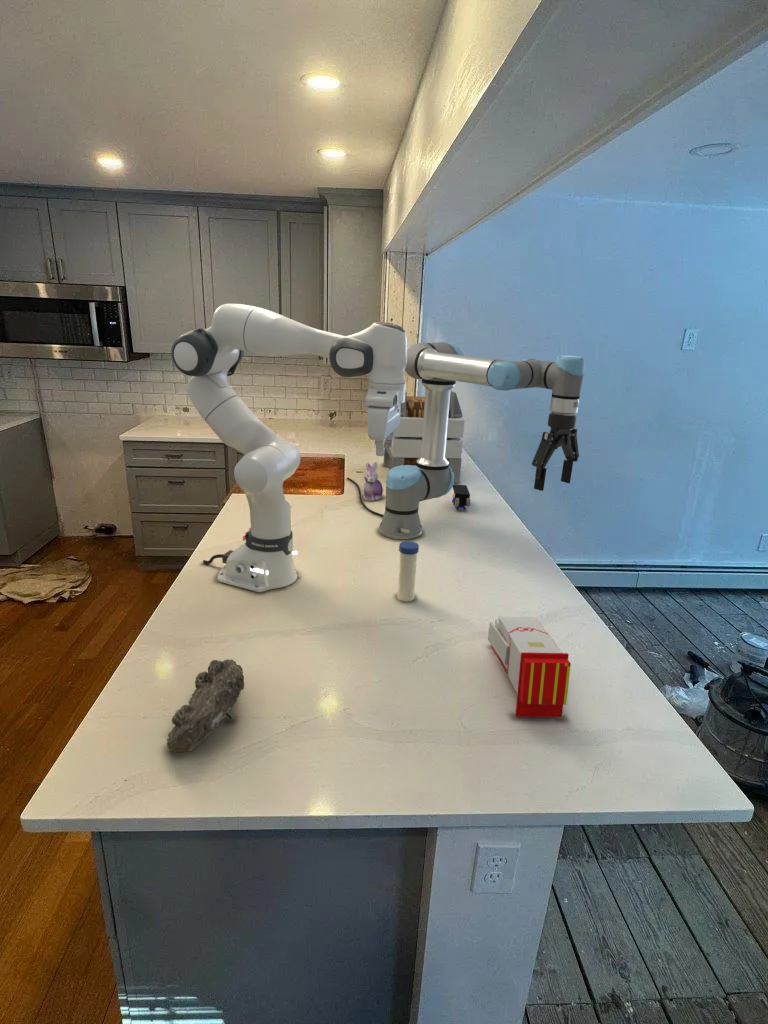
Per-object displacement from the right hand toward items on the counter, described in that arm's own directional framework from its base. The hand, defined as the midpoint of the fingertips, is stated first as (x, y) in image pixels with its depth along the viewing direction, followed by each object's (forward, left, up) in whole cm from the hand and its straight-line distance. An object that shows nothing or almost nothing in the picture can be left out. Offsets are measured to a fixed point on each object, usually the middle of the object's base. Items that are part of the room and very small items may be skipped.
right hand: (552, 485), depth 166 cm
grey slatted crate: (-101, +46, -28) cm, 115 cm away
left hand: (-15, -52, +14) cm, 56 cm away
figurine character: (-56, +26, -28) cm, 68 cm away
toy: (+29, -48, -28) cm, 63 cm away
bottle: (-13, -44, -28) cm, 54 cm away
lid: (-13, -44, -13) cm, 48 cm away
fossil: (0, -107, -28) cm, 110 cm away
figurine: (-84, +3, -28) cm, 89 cm away
